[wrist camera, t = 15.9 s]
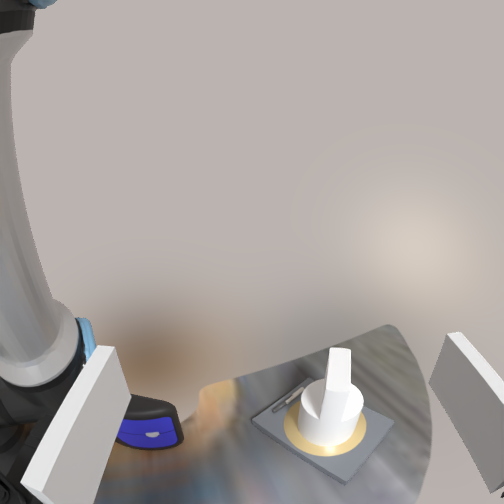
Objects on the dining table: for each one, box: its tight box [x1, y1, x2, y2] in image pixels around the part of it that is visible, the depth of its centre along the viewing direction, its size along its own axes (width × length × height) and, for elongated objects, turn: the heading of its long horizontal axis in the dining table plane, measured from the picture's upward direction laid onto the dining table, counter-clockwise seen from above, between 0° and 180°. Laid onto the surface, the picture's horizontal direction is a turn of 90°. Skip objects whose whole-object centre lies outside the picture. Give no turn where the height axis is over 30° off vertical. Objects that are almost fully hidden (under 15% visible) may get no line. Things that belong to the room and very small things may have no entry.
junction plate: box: [252, 377, 395, 485], centre depth 42 cm, size 18×14×2 cm
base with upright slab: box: [298, 348, 363, 446], centre depth 39 cm, size 9×9×12 cm
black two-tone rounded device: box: [115, 394, 184, 450], centre depth 37 cm, size 16×5×9 cm, turn 83°
